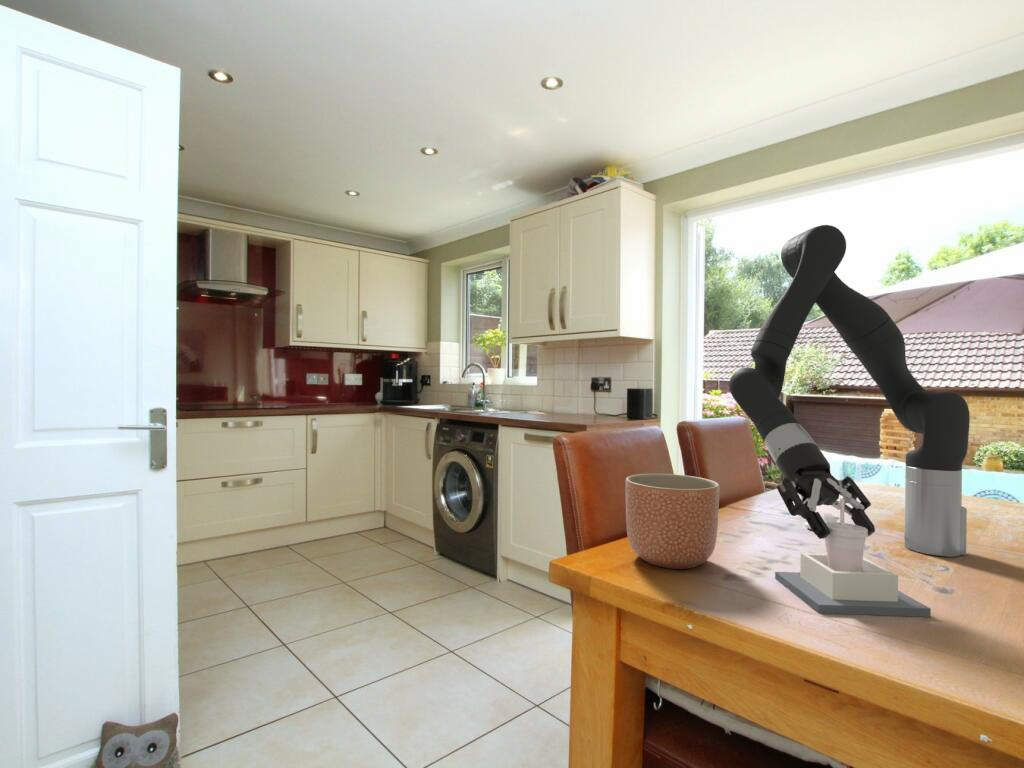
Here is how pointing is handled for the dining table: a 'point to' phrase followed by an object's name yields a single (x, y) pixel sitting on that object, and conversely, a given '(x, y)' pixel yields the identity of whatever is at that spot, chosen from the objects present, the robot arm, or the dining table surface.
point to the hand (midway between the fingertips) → (848, 535)
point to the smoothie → (845, 544)
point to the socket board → (850, 589)
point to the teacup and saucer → (826, 519)
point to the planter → (672, 518)
